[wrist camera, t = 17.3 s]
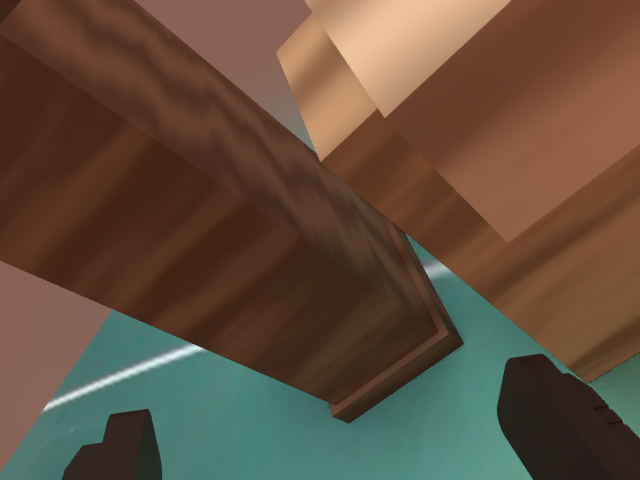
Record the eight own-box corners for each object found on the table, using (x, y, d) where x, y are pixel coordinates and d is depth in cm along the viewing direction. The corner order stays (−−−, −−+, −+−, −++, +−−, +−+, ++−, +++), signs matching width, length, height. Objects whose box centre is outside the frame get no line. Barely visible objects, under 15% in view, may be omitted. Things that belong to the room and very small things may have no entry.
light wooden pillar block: (759, 280, 26) (600, -102, 13) (587, 383, 29) (320, 162, 16) (629, 176, 34) (446, -133, 20) (504, 267, 37) (276, 52, 24)
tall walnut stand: (463, 343, 36) (-81, -33, 16) (348, 423, 40) (-211, 194, 20) (389, 204, 49) (34, -100, 29) (307, 274, 53) (-58, 45, 33)
